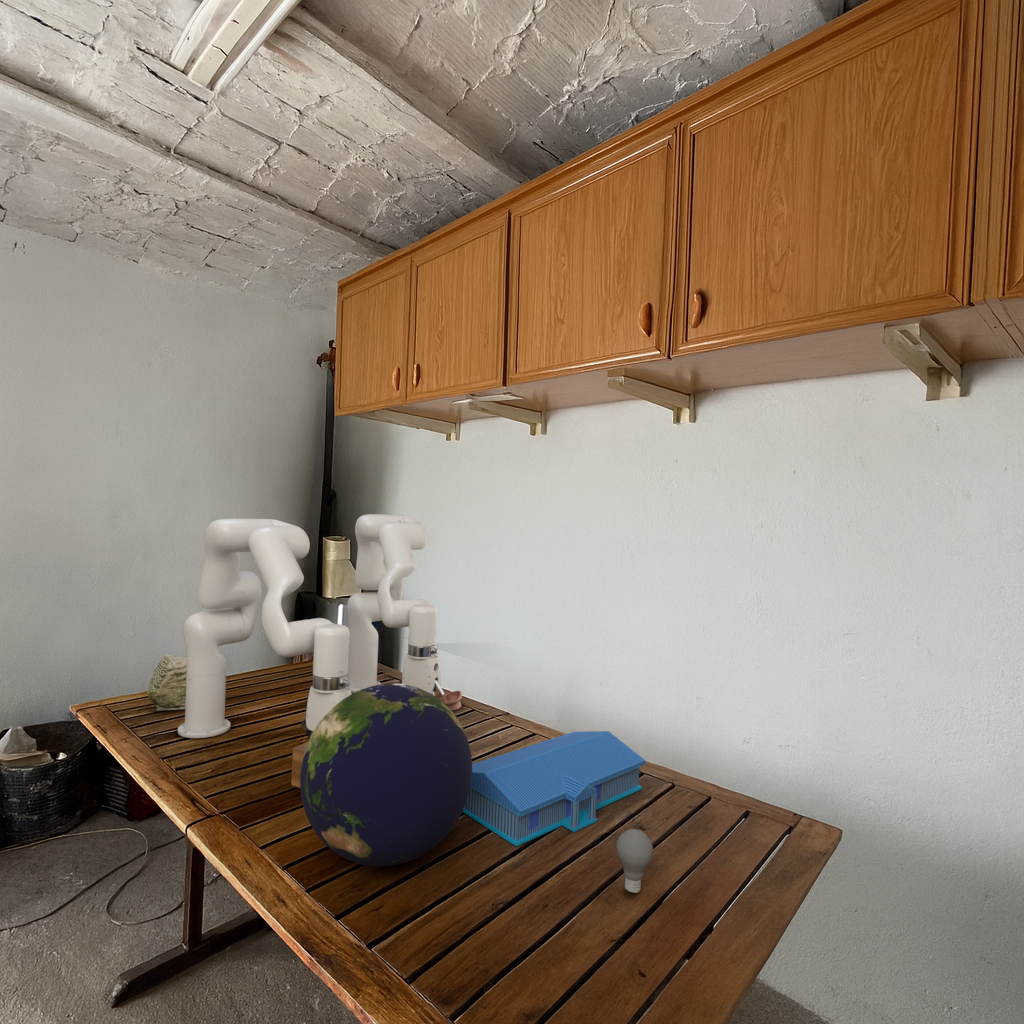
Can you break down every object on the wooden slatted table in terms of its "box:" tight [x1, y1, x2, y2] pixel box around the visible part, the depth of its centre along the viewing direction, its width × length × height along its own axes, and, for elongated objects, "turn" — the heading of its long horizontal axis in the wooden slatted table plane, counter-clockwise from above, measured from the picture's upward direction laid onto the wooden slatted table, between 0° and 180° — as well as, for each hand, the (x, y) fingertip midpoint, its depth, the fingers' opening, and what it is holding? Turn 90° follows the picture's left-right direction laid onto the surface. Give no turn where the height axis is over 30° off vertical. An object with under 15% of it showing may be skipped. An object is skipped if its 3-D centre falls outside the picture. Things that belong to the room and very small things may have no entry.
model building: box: [462, 730, 646, 847], centre depth 137 cm, size 39×24×10 cm, turn 132°
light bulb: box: [615, 828, 654, 894], centre depth 106 cm, size 6×6×10 cm
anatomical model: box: [443, 690, 463, 711], centre depth 194 cm, size 13×4×12 cm
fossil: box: [147, 654, 187, 712], centre depth 185 cm, size 9×18×15 cm, turn 132°
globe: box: [299, 683, 473, 868], centre depth 113 cm, size 30×30×30 cm
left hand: (326, 762), depth 140 cm, fingers closed on post, 5 cm apart
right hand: (419, 716), depth 172 cm, fingers closed on post, 5 cm apart
